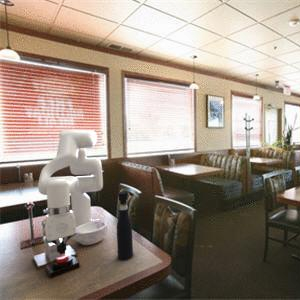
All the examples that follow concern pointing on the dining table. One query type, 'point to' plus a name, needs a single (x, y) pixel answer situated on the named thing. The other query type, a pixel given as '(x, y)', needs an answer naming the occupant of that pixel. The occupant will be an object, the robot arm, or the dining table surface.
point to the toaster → (52, 250)
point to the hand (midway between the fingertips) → (61, 252)
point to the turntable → (43, 260)
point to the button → (62, 258)
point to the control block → (62, 266)
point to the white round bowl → (90, 233)
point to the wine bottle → (124, 230)
